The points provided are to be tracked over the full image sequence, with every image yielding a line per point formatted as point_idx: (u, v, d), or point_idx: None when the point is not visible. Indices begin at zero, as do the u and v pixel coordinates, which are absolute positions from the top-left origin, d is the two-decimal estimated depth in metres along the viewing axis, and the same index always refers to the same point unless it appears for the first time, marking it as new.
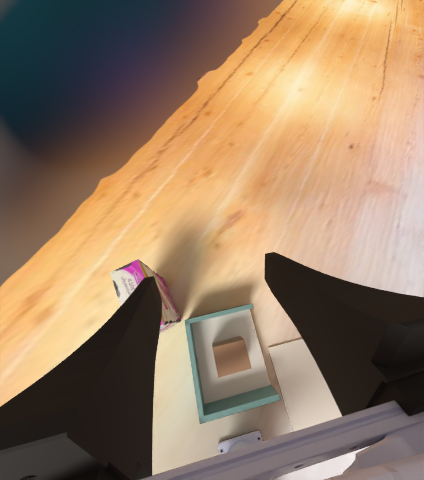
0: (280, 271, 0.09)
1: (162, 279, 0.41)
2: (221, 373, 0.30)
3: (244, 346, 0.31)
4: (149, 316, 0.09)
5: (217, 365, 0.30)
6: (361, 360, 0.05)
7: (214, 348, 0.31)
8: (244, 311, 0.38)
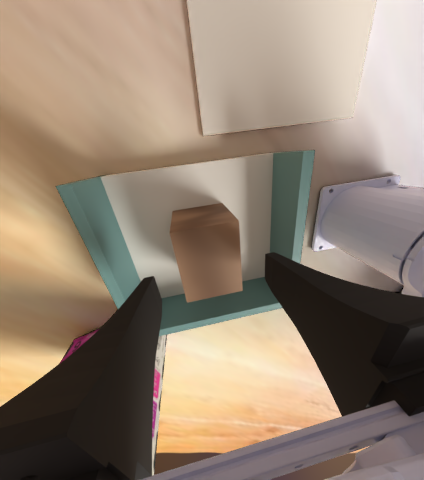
0: (280, 271, 0.10)
1: (71, 349, 0.21)
2: (236, 285, 0.14)
3: (187, 234, 0.11)
4: (149, 316, 0.09)
5: (221, 292, 0.14)
6: (361, 360, 0.05)
7: (188, 299, 0.13)
8: (111, 192, 0.14)
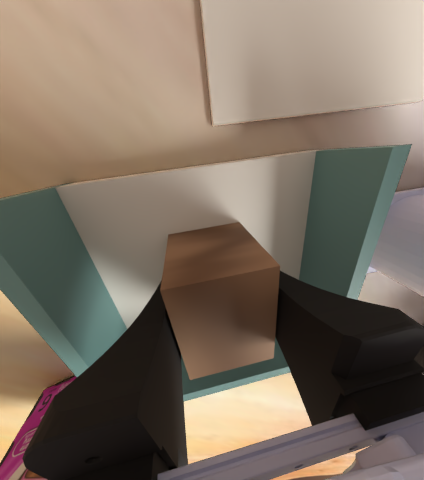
0: None
1: (38, 406, 0.16)
2: (265, 352, 0.09)
3: (191, 290, 0.06)
4: None
5: (242, 363, 0.09)
6: (324, 370, 0.05)
7: (192, 375, 0.09)
8: (75, 210, 0.09)
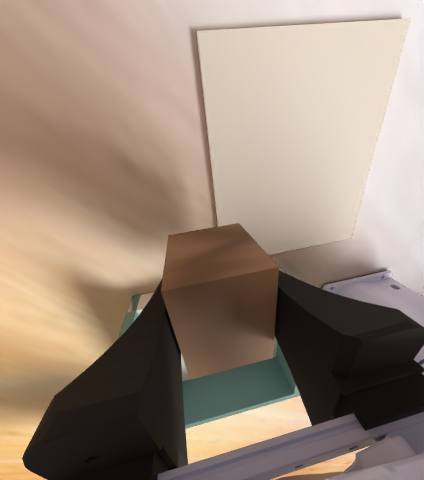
0: None
1: None
2: (265, 352, 0.09)
3: (191, 291, 0.06)
4: None
5: (241, 362, 0.09)
6: (323, 370, 0.05)
7: (192, 375, 0.09)
8: None
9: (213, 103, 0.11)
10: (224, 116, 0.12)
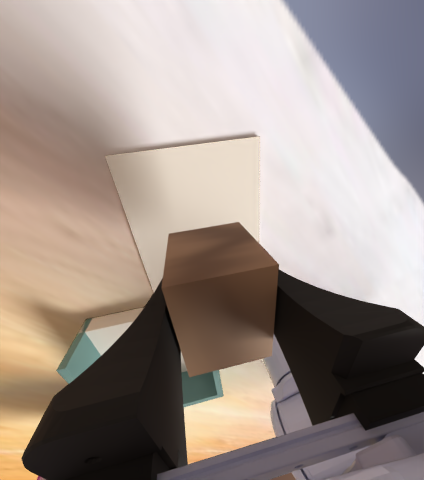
0: None
1: None
2: (264, 350, 0.09)
3: (192, 288, 0.06)
4: None
5: (241, 360, 0.09)
6: (324, 370, 0.05)
7: (191, 372, 0.09)
8: (92, 337, 0.21)
9: (124, 194, 0.16)
10: (134, 201, 0.17)
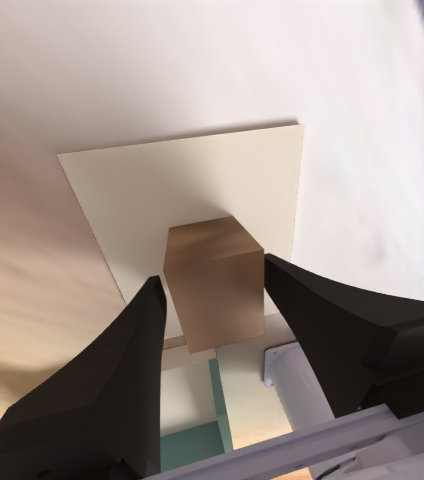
0: (275, 272, 0.09)
1: None
2: (256, 329, 0.10)
3: (189, 271, 0.07)
4: (155, 314, 0.09)
5: (235, 339, 0.10)
6: (352, 362, 0.05)
7: (191, 349, 0.10)
8: None
9: (94, 214, 0.11)
10: (110, 224, 0.11)
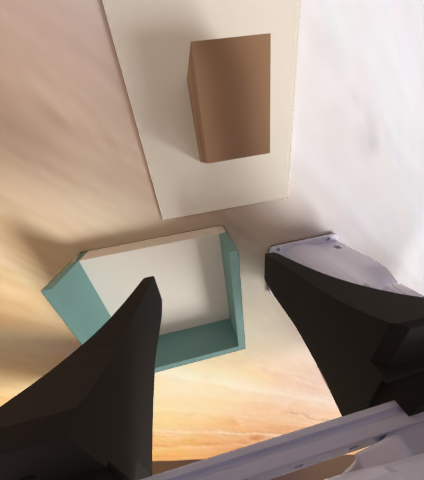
0: (280, 271, 0.10)
1: None
2: (263, 143, 0.12)
3: (211, 47, 0.09)
4: (149, 316, 0.09)
5: (246, 152, 0.12)
6: (361, 360, 0.05)
7: (210, 157, 0.12)
8: (88, 270, 0.17)
9: (125, 55, 0.12)
10: (138, 68, 0.13)
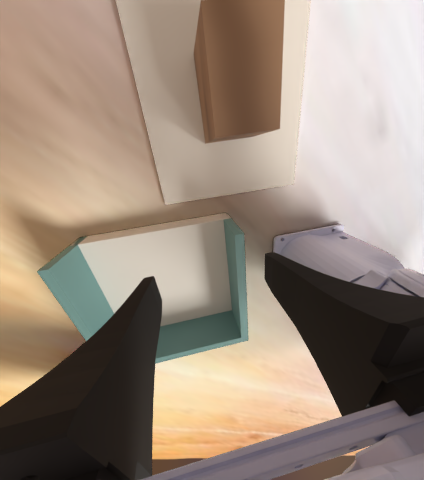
0: (280, 271, 0.10)
1: None
2: (273, 117, 0.11)
3: (222, 7, 0.09)
4: (149, 316, 0.09)
5: (255, 127, 0.11)
6: (361, 360, 0.05)
7: (217, 131, 0.11)
8: (87, 254, 0.17)
9: (129, 25, 0.12)
10: (143, 40, 0.12)
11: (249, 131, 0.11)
